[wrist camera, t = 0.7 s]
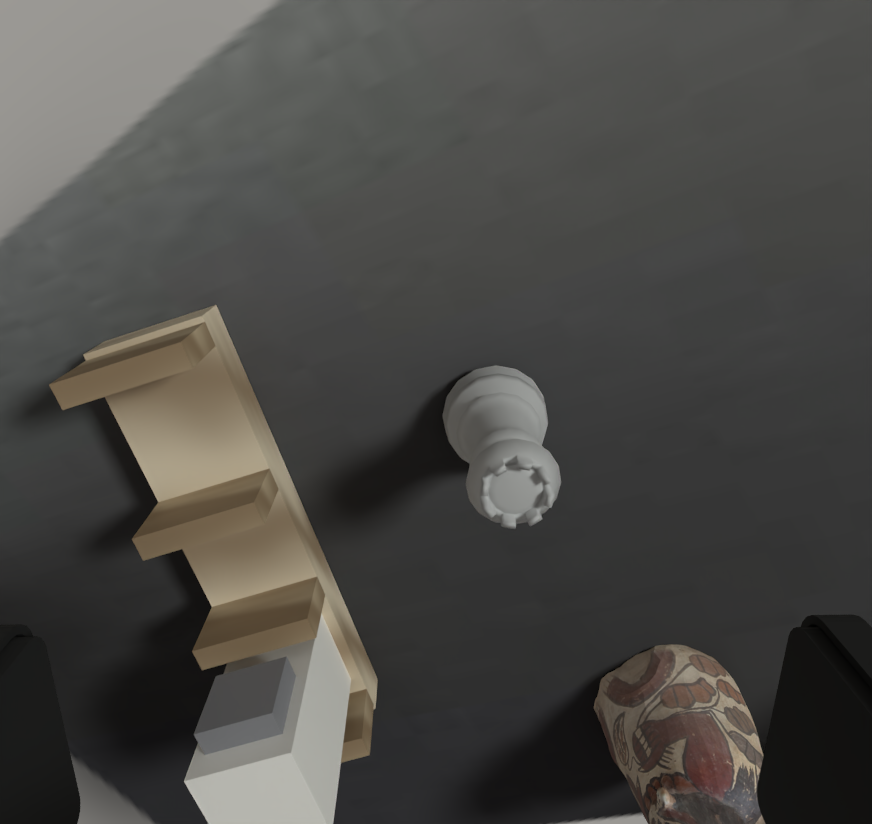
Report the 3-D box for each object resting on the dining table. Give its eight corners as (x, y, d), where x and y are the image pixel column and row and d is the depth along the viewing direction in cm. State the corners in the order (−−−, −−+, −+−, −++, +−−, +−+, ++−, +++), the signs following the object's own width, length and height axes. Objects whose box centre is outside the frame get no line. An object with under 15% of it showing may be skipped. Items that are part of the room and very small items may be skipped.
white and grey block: (351, 679, 34) (331, 833, 26) (271, 701, 34) (229, 859, 26) (312, 593, 32) (280, 731, 24) (228, 617, 32) (171, 760, 25)
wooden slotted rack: (377, 679, 36) (371, 759, 31) (284, 705, 36) (264, 787, 32) (216, 304, 29) (177, 335, 25) (104, 341, 30) (45, 378, 25)
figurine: (610, 636, 36) (700, 864, 24) (748, 648, 36) (899, 877, 25) (583, 748, 38) (652, 1001, 27) (712, 757, 38) (835, 1011, 27)
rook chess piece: (464, 472, 32) (478, 572, 25) (426, 385, 31) (428, 463, 23) (558, 436, 32) (601, 526, 24) (523, 346, 30) (559, 412, 23)
